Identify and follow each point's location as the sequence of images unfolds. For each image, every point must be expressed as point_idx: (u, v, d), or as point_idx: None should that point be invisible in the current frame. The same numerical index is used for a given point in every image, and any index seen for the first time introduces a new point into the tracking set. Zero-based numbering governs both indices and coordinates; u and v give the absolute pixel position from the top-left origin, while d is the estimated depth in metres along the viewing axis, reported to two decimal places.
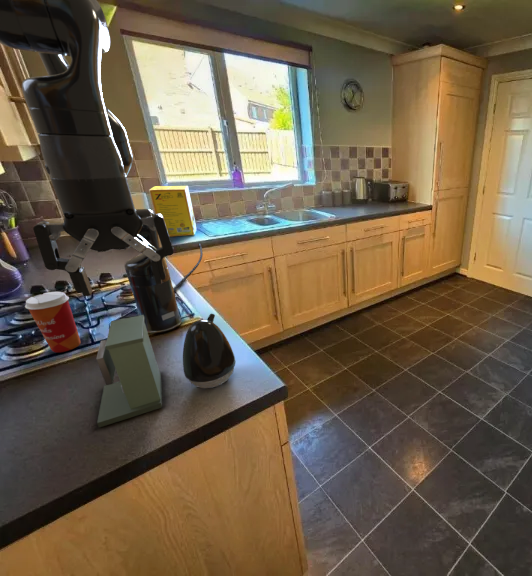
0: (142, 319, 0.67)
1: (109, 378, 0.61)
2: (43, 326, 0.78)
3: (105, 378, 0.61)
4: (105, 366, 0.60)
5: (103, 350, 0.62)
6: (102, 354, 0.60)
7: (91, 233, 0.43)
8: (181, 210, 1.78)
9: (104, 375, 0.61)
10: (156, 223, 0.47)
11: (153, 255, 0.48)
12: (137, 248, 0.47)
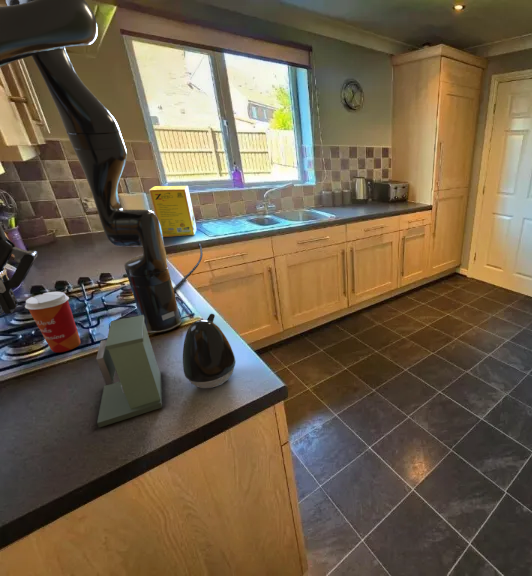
0: (142, 319, 0.67)
1: (109, 378, 0.61)
2: (43, 326, 0.78)
3: (105, 378, 0.61)
4: (105, 366, 0.60)
5: (103, 350, 0.62)
6: (102, 354, 0.60)
7: None
8: (181, 210, 1.78)
9: (104, 375, 0.61)
10: (24, 258, 0.52)
11: None
12: None
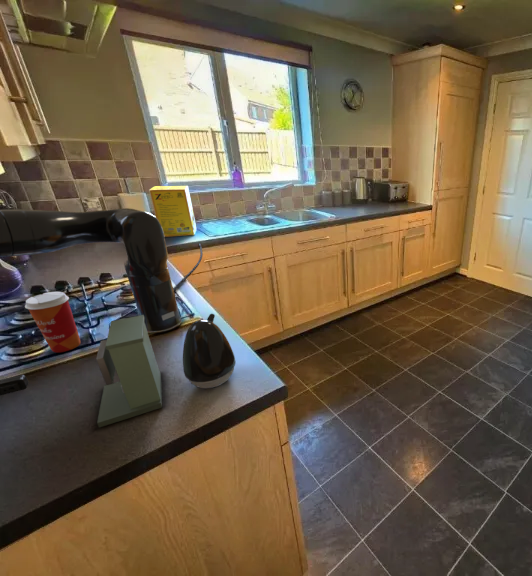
0: (142, 319, 0.67)
1: (109, 378, 0.61)
2: (43, 326, 0.78)
3: (105, 378, 0.61)
4: (105, 366, 0.60)
5: (103, 350, 0.62)
6: (102, 354, 0.60)
7: None
8: (181, 210, 1.78)
9: (104, 375, 0.61)
10: None
11: None
12: None
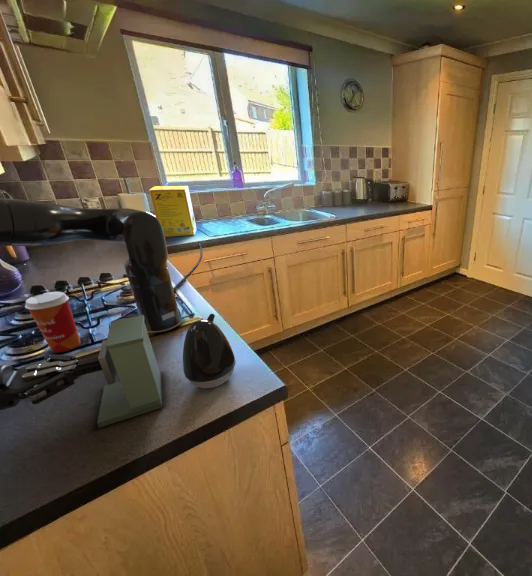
0: (142, 319, 0.67)
1: (110, 377, 0.61)
2: (43, 326, 0.78)
3: (107, 378, 0.61)
4: (107, 366, 0.60)
5: (105, 350, 0.62)
6: (104, 354, 0.60)
7: None
8: (181, 210, 1.78)
9: (106, 375, 0.61)
10: None
11: None
12: None
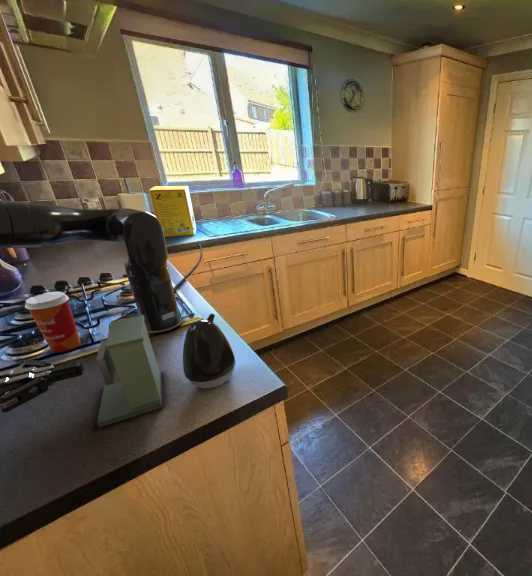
0: (142, 319, 0.67)
1: (109, 377, 0.61)
2: (43, 326, 0.78)
3: (105, 378, 0.61)
4: (105, 366, 0.60)
5: (103, 350, 0.62)
6: (102, 354, 0.60)
7: None
8: (181, 210, 1.78)
9: (104, 375, 0.61)
10: None
11: None
12: None
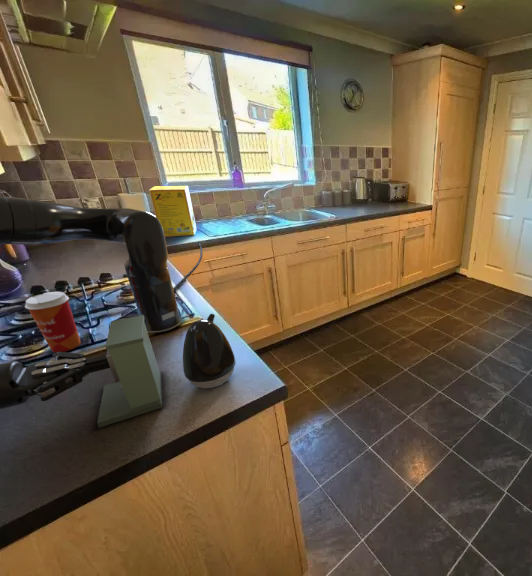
0: (142, 319, 0.67)
1: None
2: (43, 326, 0.78)
3: (114, 376, 0.62)
4: None
5: None
6: None
7: None
8: (181, 210, 1.78)
9: (114, 373, 0.61)
10: None
11: None
12: None
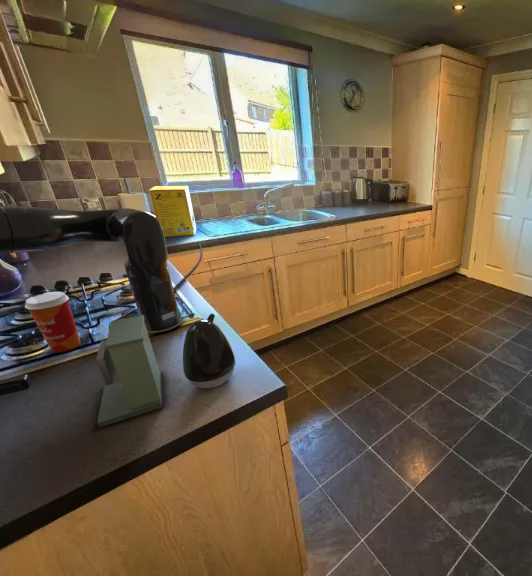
0: (142, 319, 0.67)
1: (109, 378, 0.61)
2: (43, 326, 0.78)
3: (105, 378, 0.61)
4: (105, 366, 0.60)
5: (103, 350, 0.62)
6: (102, 354, 0.60)
7: None
8: (181, 210, 1.78)
9: (104, 375, 0.61)
10: None
11: None
12: None
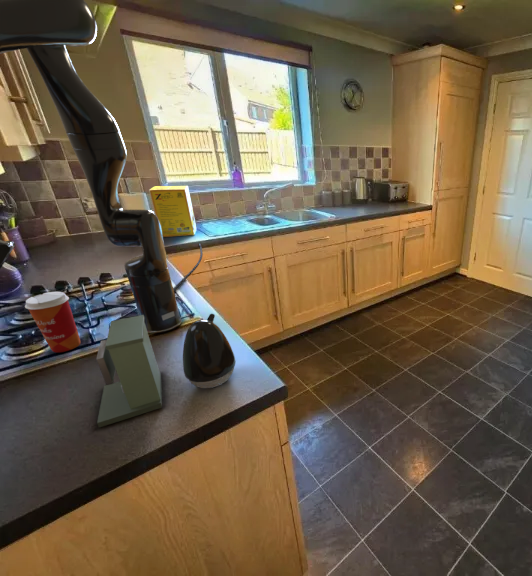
0: (142, 319, 0.67)
1: (109, 378, 0.61)
2: (43, 326, 0.78)
3: (105, 378, 0.61)
4: (105, 366, 0.60)
5: (103, 350, 0.62)
6: (102, 354, 0.60)
7: None
8: (181, 210, 1.78)
9: (104, 375, 0.61)
10: None
11: None
12: None
